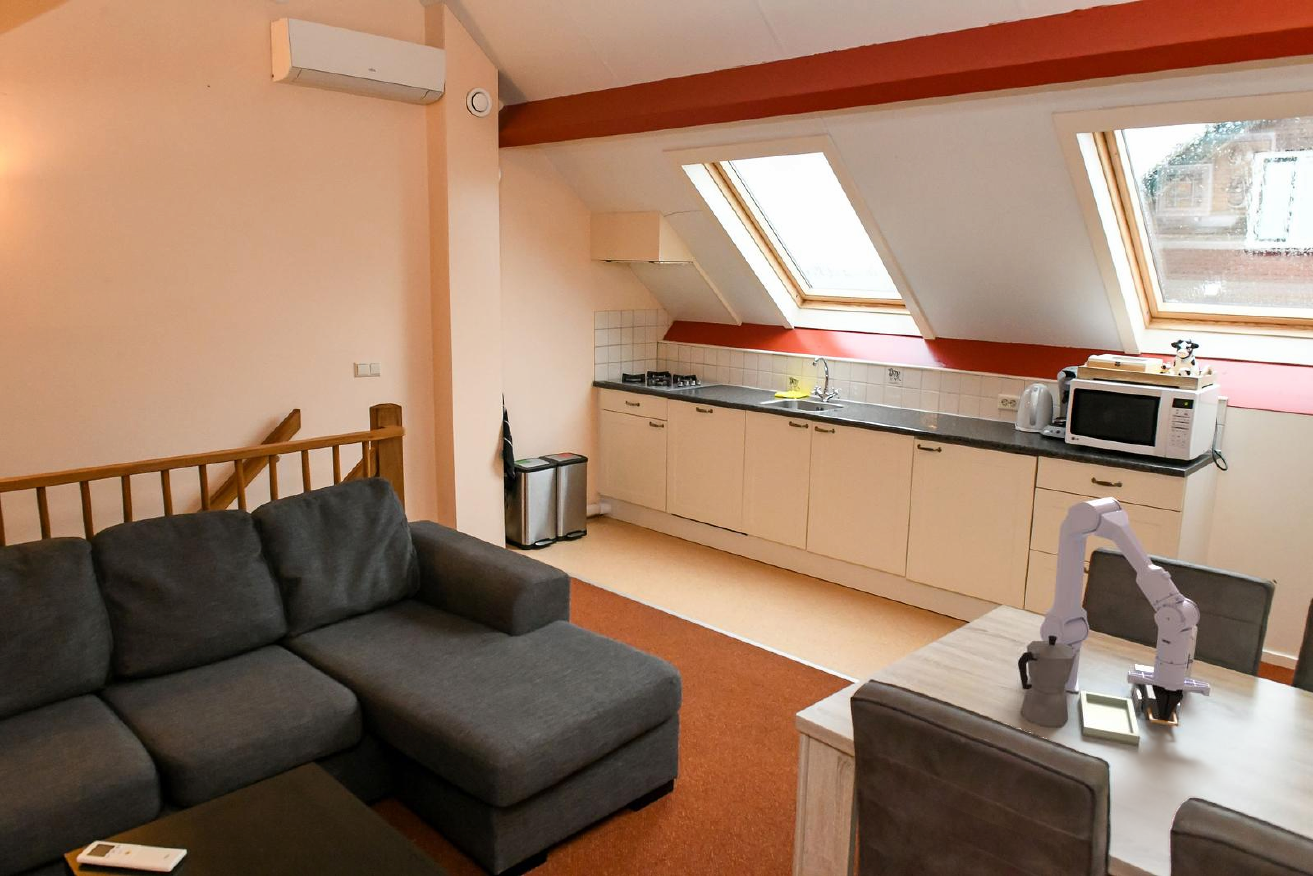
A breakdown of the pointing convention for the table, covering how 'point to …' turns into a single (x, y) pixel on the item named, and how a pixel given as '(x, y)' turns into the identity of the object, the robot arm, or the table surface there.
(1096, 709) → the green tray
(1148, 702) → the orange handle block
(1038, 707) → the coffeepot
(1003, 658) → the table surface
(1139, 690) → the steel bay
